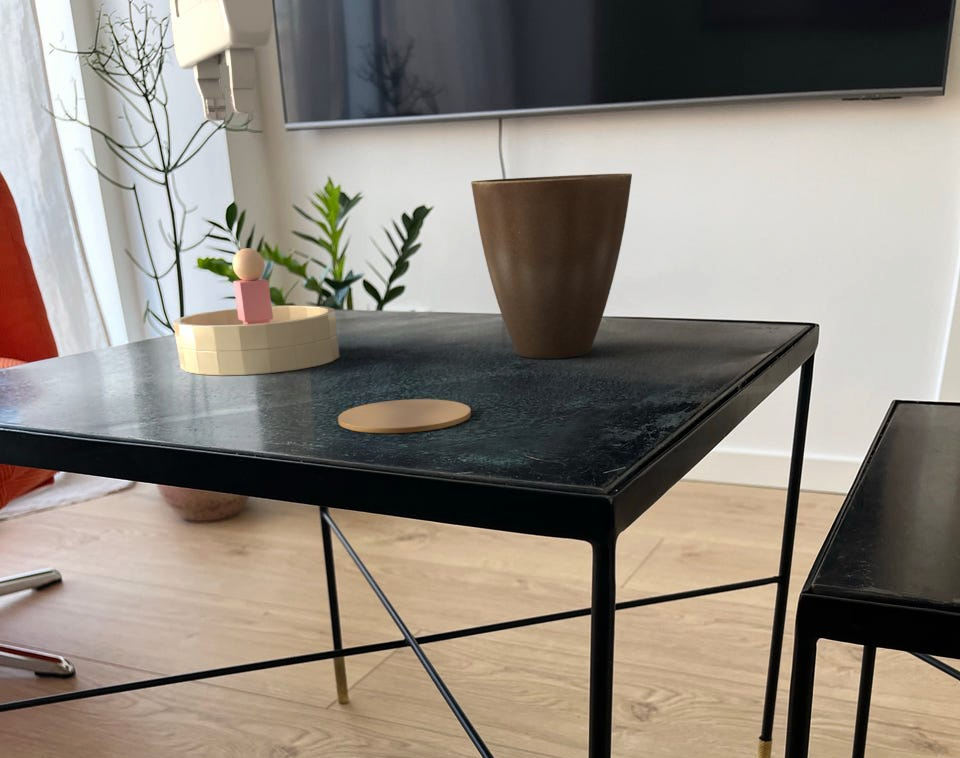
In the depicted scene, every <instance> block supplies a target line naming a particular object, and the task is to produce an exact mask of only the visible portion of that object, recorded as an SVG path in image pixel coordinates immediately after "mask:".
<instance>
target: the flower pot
mask: <svg viewBox="0 0 960 758" xmlns="http://www.w3.org/2000/svg"><path fill="white" fill-rule="evenodd" d="M632 176H633V174H632V173H598V174H597V173H596V174H575V175H573V174H571V175H554V176H553V175H551V176H533V177H516V178H497V179H495V178H494V179H484V180H482V179H481V180H472V181H471V182H470V184H471V185H470V186H471V190H472V196H473V197H472V198H473V203H474V209H475V215H476V220H477V225H478V230H479V235H480V240H481V245H482V250H483V256H484V258H485V263H486V267H487V271H488V275H489V279H490V282H491V286H492V288H493V292H494V295H495V298H496V302H497V306H498V307H499V311H500V314H501V317H502V319H503V323H504V326H505V329H506V331H507V333H508V336H509V338H510V342H511V345H512V346H513V349H514V351H515V353H516V355H517V356H519V357H523V358H529V359H537V360H538V359H540V360H555V359H568V358H575V357H580V356H584V355H587V354H589V353H590V352H591V350H592V347H593V344H594V342H595V339H596V336H597V333H598V331H599V328H600V325H601V322H602V319H603V316H604V313H605V309H606V307H607V304H608V300H609V296H610V292H611V289H612V285H613V281H614V278H615V274H616V270H617V265H618V261H619V256H620V251H621V246H622V242H623V238H624V237H623V236H624V232H625V227H626V220H627V213H628V208H629V200H630V193H631V185H632Z"/></svg>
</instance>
